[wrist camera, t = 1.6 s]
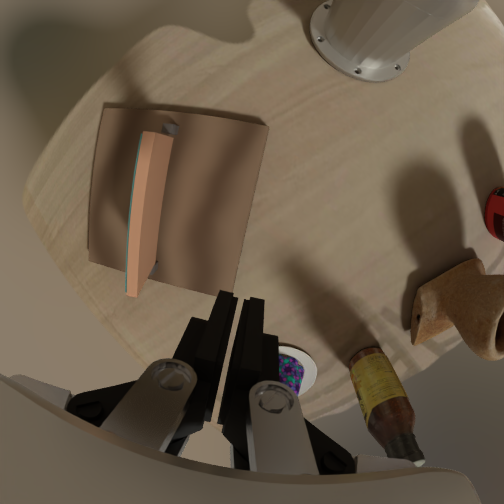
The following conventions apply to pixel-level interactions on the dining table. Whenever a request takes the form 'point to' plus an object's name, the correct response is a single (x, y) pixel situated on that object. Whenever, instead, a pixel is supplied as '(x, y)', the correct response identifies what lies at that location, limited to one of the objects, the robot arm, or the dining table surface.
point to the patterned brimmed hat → (296, 370)
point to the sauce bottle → (385, 405)
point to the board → (179, 194)
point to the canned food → (495, 213)
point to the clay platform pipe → (463, 308)
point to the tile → (146, 208)
